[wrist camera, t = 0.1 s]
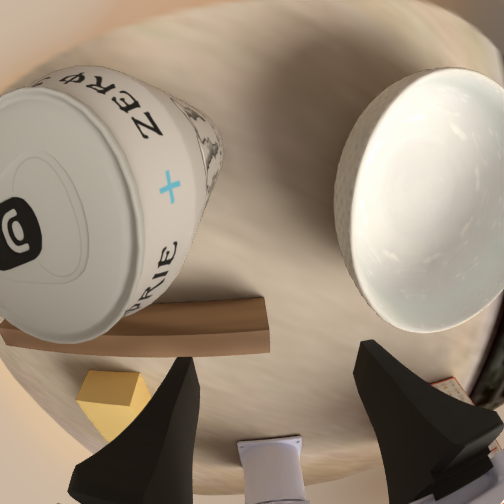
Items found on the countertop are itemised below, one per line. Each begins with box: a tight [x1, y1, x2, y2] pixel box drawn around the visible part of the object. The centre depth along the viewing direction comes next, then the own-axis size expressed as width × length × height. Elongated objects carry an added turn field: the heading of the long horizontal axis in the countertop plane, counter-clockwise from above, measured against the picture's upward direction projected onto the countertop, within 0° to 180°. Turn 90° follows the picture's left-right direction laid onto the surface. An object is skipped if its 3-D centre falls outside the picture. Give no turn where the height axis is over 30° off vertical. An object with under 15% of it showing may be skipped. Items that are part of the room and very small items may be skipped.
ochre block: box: [76, 370, 152, 443], centre depth 25 cm, size 9×6×4 cm, turn 5°
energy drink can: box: [0, 66, 224, 344], centre depth 11 cm, size 6×6×15 cm
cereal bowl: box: [333, 67, 504, 333], centre depth 16 cm, size 17×17×7 cm
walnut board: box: [0, 297, 270, 357], centre depth 20 cm, size 2×24×4 cm, turn 93°
